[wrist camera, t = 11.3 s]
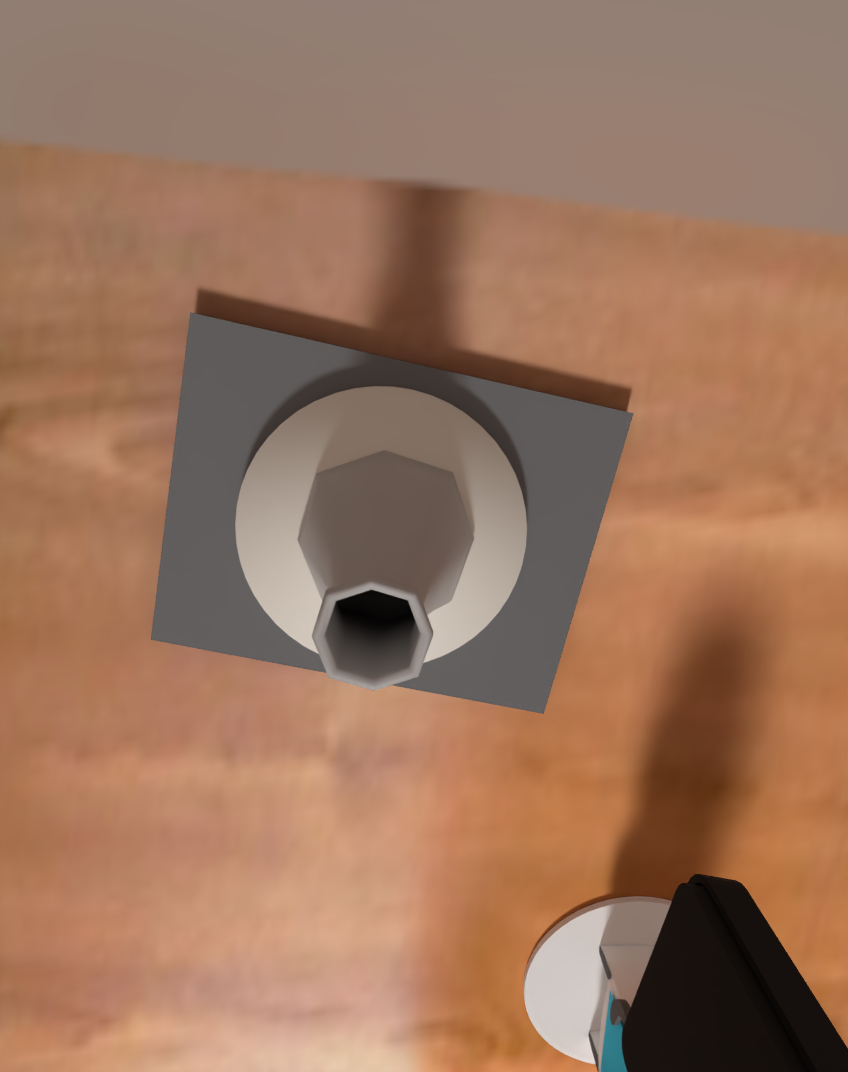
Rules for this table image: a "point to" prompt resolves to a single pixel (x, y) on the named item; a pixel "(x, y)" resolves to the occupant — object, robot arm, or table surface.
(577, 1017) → the white upright piece
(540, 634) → the saucer mat
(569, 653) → the table surface
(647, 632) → the table surface
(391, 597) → the flask
